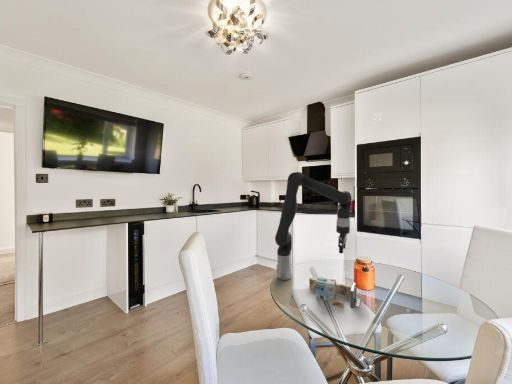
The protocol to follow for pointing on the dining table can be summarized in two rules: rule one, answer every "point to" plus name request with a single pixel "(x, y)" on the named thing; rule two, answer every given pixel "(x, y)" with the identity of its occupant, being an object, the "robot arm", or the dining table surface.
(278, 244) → the robot arm
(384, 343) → the dining table surface
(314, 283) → the shelf
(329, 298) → the light bulb box
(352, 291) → the bookend
